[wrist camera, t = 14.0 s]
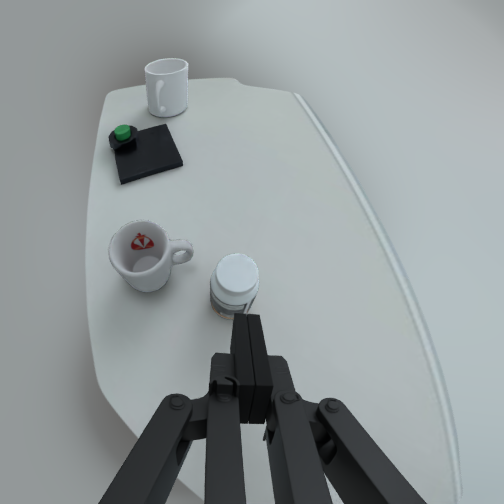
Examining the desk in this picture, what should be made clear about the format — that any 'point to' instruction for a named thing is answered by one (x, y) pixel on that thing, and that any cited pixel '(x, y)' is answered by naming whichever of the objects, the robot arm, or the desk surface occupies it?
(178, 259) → the cup
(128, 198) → the desk surface
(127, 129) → the tare button
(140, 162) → the scale
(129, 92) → the desk surface
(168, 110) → the mug
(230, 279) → the pill bottle
